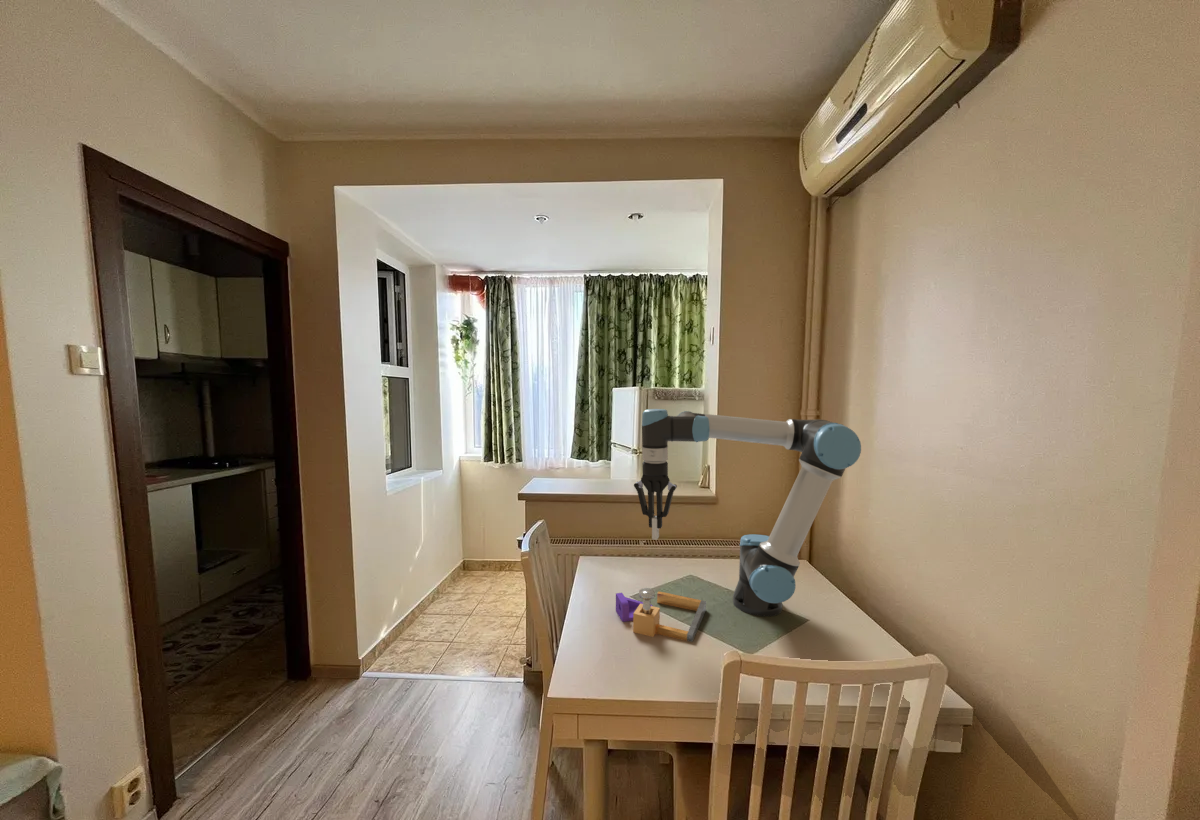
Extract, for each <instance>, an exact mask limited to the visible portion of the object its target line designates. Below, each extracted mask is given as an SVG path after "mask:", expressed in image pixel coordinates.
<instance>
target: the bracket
mask: <svg viewBox="0 0 1200 820" xmlns="http://www.w3.org/2000/svg"><path fill="white" fill-rule="evenodd" d="M640 604H643V601H640V600H636V599H633V598H630V597H627V596H625V595H624V593H623V592H617V593H615V612H616V614H617V616H618V617H619V618H620V620H621V621H622V622H625V623H626V622H633V613H634V612H635V610H636V609H637V607H638V606H639V605H640ZM651 606H653V605H652V604H651Z"/></svg>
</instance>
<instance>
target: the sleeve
mask: <svg viewBox="0 0 1200 820" xmlns="http://www.w3.org/2000/svg"><path fill="white" fill-rule="evenodd" d="M660 613H661V609H660V607H657V606H653V605H652V606H651V614H650V615H649V614H644V613H643V604H640V605H639V606H638V607H637V609H636V610H635V612H634V613H633V621H632V625H633V627H632V632H633V633H635V634H638V635H644V636H646V637H651V638H654V637H655V635H656V634H655V630H656V625H657V624H660V622H661V621H660Z"/></svg>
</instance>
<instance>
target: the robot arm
mask: <svg viewBox="0 0 1200 820" xmlns="http://www.w3.org/2000/svg"><path fill="white" fill-rule="evenodd" d="M709 439H717V440H725V441H726V440H727V441H736V442H745V443H753V444H754V443H755V444H764V445H773V446H782V447H783V448H784V449H785V450H787V451H788V450H790V451H796V452H799V453H800V452H801V454H800V455H799V456H800V457H799V458H798V462H799V463H800V467H801V468H800V470H799V472H798V474H797V477H796V478H795V481H794V483H793V485H792V487H791V489H790V490H789V493H788V495H787V497H786V500H785V502H784V504H783V507H782V509H781V511H780V512H779V515H778V518H777V519H776V521H775V524H774V525H773V528H772V530H771V532H770V534H769V535H765V534H754V533H753V534H752V533H751V534H750V533H749V534H744V535H742V536H741V537H740V543H739V567H738V568H739V569H738V570H739V573H738V581H737V583H736V586H735V589H734V592H733V594H732V604H733V605H734V607H736V608H737V609H738V610H739V611H741V612H743V613H745V614H749V615H753V616H756V617H757V616H758V617H774V616H778V615H779V613H780V614H781V613H782V612H783V603H784V602H787V601H789V599H791V598H792V597H793V595H794V594H795V591H796V579H795V576H796V573H797V572H798V571H797V570H798V569H799V567H800V564H801V563H800V561H799V559H798V555H799V552H800V550H801V548H802V546H803V544H804V542H805V540H806V538H807V536H808V534H809V532H810V529H811V527H812V525H813V523H814V520H815V519H816V517H817V515H818V513H819V510H820V509H821V506H822V504H823V502H824V500H825V498H826V496H827V494H828V491H829V489H830V488H831V485H832V483H833V482H834V481H836V480H838V479H841V478H842V476H843V474H844V473H845V471H846V469H848V468H849V467H852V466H853V465H854V464H855V463H857V462H858V460H859V458H860V456H861V454H862V443H861V440H860V438H859V436H858V435H857V433H856V432H855V431H853V430H852V429H851V428H850V427H848V426H846V425H844V424H841V423H838V422H833V421H830V420H826V419H795V418H788V419H787V420H786V421H784V420H783V421H782V420H781V421H780V420H771V419H761V418H750V417H740V416H728V415H720V414H710V413H709V414H708V413H700V412H693V411H689V410H688V411H687V410H686V411H685V410H684V411H682V412H680V413H679V414H678V415H669V413H668V410H667V409H664V408H663V409H662V408H649V409H645V410H644V411H643V412H642V417H641V443H642V444H641V446H642V447H641V450H642V455H641V456H642V458H641V459H642V460H643V462H642V466H641V467H642V476H641V478H640V480H639V481H636V482H635V483H633V487H634V489H635V490H636V492H637V496H638V501H639V504H640V509H641V512H642V515H643V516H647V517H648V527H649V528H651V540H655V541H658V539H659V537H660V529H662V528H663V518H666V517H667V516H668V515H669V511H670V508H671V505H672V504H671V503H672V500H673V495H674V493H675V491H676V489H677V488H678V486H677V484H675V483H674V484H673V483H672V482H671V481H670V478H669V473H668V472H669V467H668V466H669V465H668V464H669V462H668V460H669V458H668V456H669V455H668V454H669V453H668V452H669V451H668V448H669V445H668V443H669V442H689V443H690V442H695V443H699V442H708V440H709ZM643 487H645V490H646V491H647V499H646V495H645V490H644V488H643ZM666 487H667V491H668V492H667V495H666V500H665V504H664V508H663V495H664V493H663V492H664V490H665V488H666ZM655 496H656V513H655ZM655 514H656V515H655ZM781 611H782V612H781Z"/></svg>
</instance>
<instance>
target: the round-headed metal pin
mask: <svg viewBox="0 0 1200 820" xmlns="http://www.w3.org/2000/svg"><path fill="white" fill-rule="evenodd" d="M638 592H639V593H638V594H639V595H638V596H639V599H640V598H641V599H642V602H643V613H644V614H649V615H650V614H651V605H652V604H651V603H652V602H651V600H653V599H654V598H655V595H656V594H655V592H656V591H655V590H654V589H653V588H649V587H644V588H641V589H639V591H638Z"/></svg>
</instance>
